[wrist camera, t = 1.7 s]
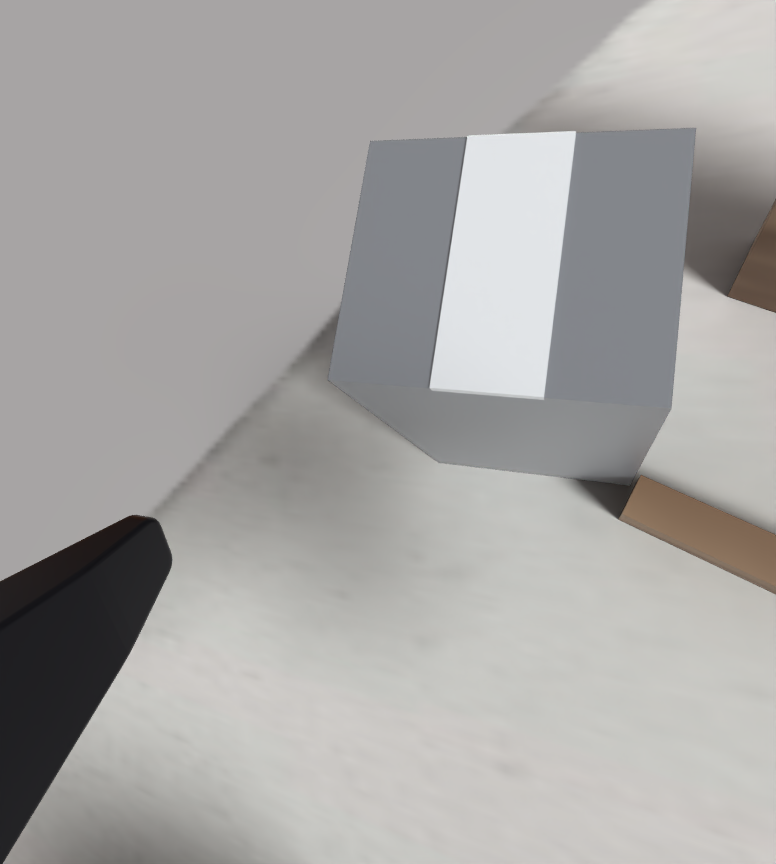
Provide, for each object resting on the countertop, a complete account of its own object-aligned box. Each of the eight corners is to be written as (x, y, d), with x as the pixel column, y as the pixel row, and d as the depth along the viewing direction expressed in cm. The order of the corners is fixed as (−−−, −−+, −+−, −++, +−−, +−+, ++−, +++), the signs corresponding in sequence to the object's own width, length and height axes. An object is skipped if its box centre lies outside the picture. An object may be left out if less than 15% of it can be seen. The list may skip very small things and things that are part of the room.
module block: (629, 485, 20) (671, 408, 10) (438, 462, 22) (326, 379, 12) (644, 329, 21) (696, 125, 11) (459, 321, 22) (369, 139, 13)
